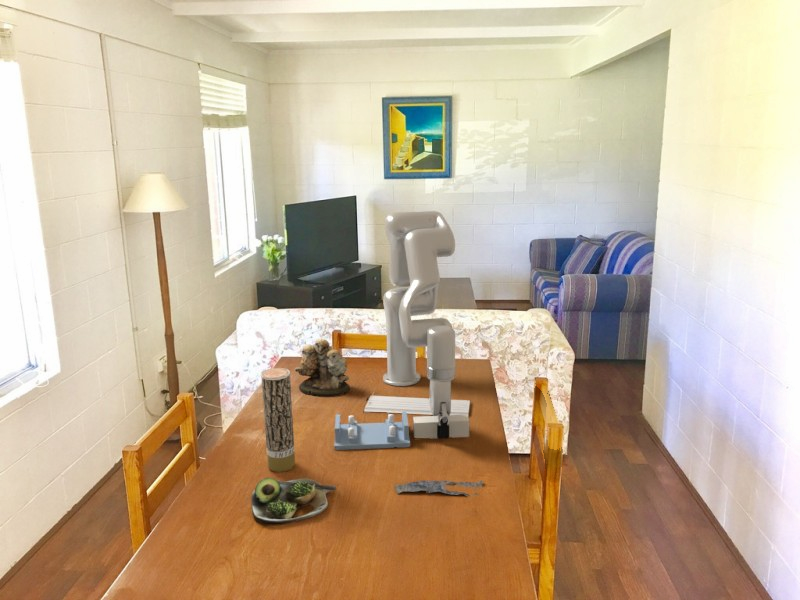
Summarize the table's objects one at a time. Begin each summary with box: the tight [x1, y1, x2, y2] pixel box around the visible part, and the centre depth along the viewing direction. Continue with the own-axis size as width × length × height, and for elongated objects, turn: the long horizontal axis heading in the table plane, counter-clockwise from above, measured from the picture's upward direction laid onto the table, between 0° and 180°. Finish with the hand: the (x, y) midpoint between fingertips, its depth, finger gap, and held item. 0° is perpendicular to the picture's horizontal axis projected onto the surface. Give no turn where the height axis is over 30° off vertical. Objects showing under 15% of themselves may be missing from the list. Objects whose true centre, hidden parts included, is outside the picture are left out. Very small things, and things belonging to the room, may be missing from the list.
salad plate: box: [250, 477, 337, 526], centre depth 149 cm, size 19×18×5 cm
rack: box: [333, 412, 411, 451], centre depth 179 cm, size 20×13×5 cm, turn 94°
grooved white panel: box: [363, 395, 471, 417], centre depth 198 cm, size 31×3×12 cm
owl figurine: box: [294, 338, 351, 397], centre depth 212 cm, size 18×12×17 cm, turn 81°
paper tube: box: [260, 367, 296, 473], centre depth 162 cm, size 7×7×25 cm
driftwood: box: [394, 479, 483, 498], centre depth 154 cm, size 21×7×2 cm, turn 84°
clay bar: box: [412, 414, 470, 439], centre depth 181 cm, size 15×4×5 cm, turn 94°
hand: (440, 430), depth 181 cm, fingers open, 9 cm apart
